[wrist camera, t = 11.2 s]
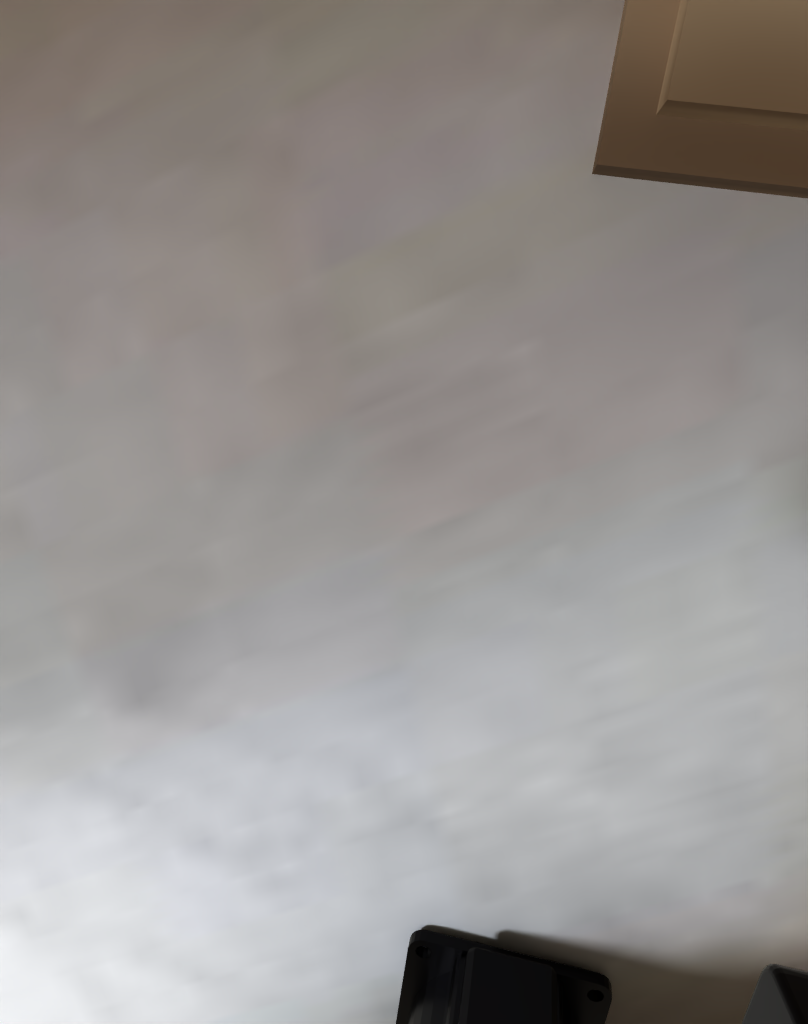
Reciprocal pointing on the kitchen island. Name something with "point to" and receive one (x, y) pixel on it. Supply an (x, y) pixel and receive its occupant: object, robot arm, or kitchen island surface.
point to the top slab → (739, 63)
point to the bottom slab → (684, 123)
